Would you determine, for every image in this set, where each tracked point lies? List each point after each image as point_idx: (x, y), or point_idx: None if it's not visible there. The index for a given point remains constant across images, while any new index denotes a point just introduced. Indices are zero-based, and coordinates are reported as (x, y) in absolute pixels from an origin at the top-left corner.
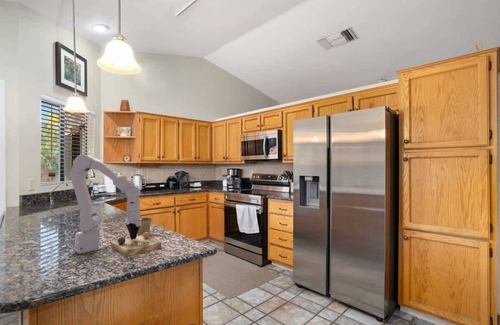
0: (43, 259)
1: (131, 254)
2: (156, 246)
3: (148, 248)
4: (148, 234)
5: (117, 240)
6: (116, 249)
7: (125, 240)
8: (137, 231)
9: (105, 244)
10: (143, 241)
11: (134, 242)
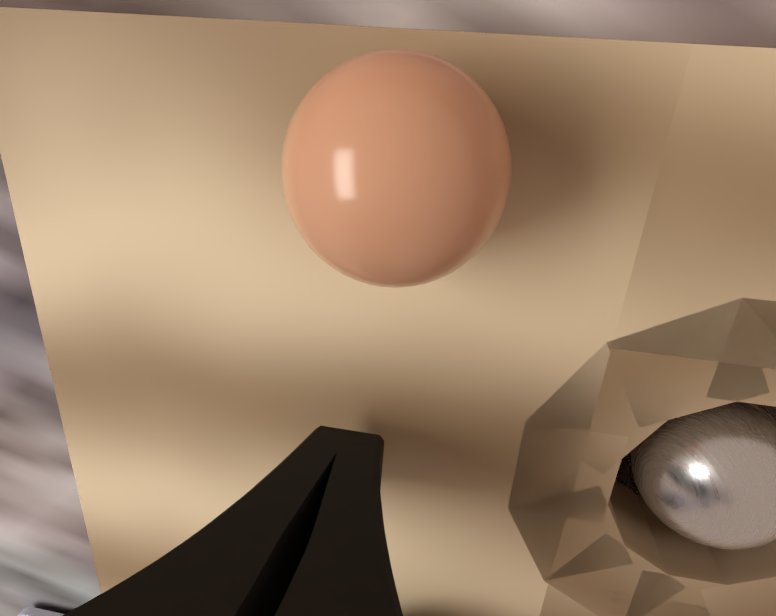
0: None
1: None
2: None
3: None
4: (504, 153)
5: (133, 563)
6: None
7: (226, 506)
8: (393, 590)
9: (24, 539)
10: (622, 359)
11: (507, 496)
